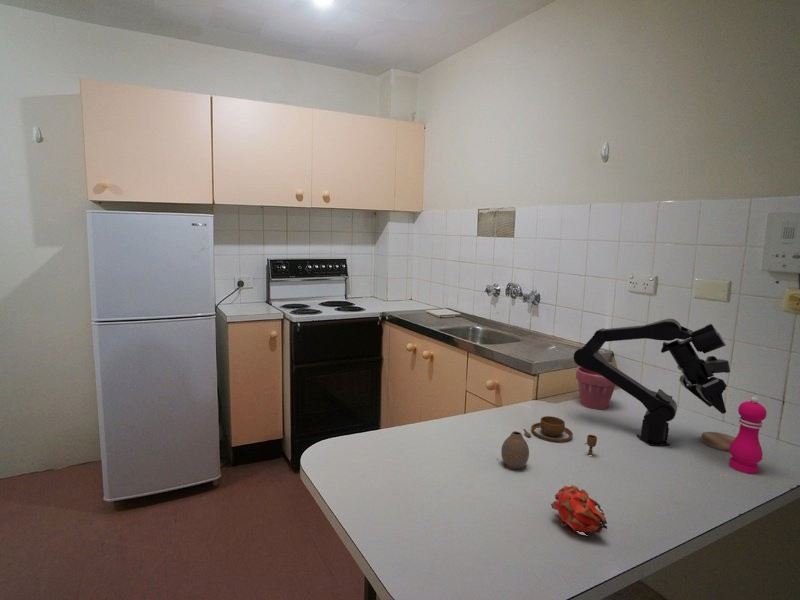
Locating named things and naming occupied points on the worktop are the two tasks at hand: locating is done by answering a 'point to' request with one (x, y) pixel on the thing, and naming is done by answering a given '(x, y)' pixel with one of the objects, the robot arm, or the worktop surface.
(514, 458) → the vase
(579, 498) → the dragon fruit
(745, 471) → the pepper mill
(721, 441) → the walnut base
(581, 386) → the plant pot
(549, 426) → the place setting
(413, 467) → the worktop surface
